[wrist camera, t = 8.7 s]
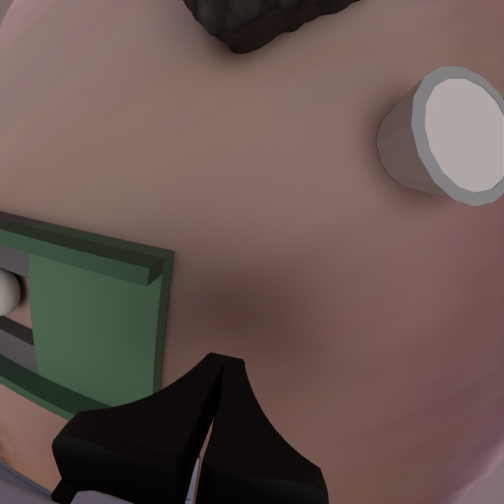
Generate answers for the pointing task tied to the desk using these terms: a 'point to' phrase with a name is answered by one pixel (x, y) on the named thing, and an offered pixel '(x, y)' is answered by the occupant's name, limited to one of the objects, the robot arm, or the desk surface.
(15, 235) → the putting green
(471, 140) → the grey cup
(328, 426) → the desk surface
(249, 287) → the desk surface
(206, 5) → the owl
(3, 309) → the golf ball
